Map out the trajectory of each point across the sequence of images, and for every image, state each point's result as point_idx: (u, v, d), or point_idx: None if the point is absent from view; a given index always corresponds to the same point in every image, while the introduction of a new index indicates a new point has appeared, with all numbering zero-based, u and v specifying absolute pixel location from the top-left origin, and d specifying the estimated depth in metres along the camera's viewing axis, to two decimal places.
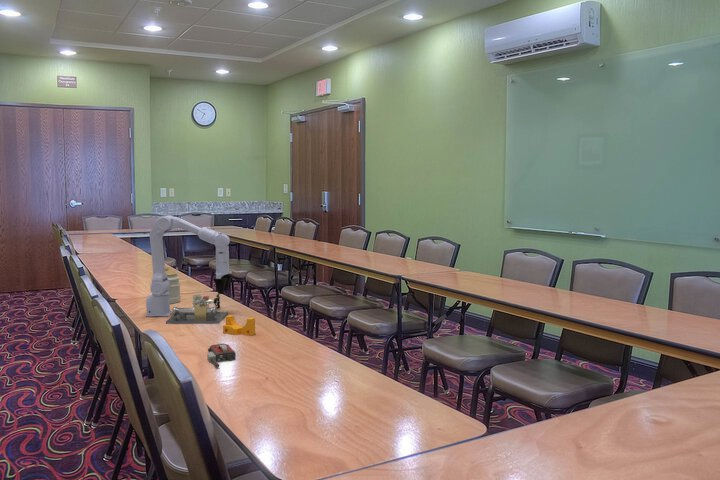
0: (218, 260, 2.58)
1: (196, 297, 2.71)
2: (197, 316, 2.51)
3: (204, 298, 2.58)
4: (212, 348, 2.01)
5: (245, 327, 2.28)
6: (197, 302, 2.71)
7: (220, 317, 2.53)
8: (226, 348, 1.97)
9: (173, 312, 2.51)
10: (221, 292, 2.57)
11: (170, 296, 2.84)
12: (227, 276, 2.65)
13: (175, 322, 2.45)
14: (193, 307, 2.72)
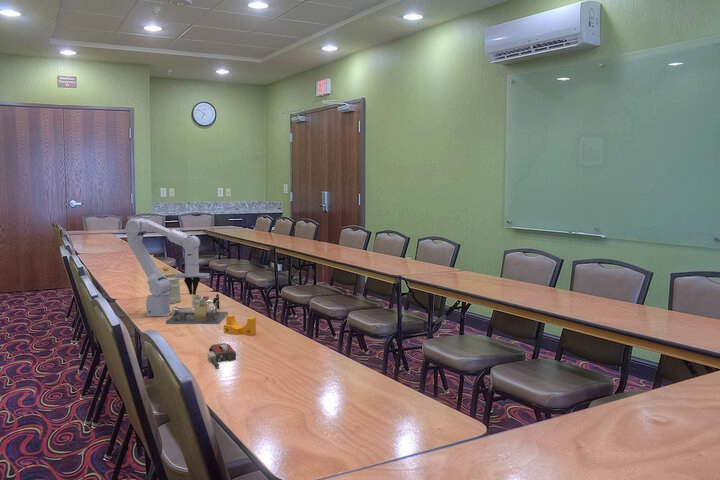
0: (186, 262, 2.56)
1: (195, 297, 2.71)
2: (197, 316, 2.51)
3: (204, 298, 2.58)
4: (213, 348, 2.02)
5: (246, 327, 2.29)
6: (196, 302, 2.71)
7: (220, 317, 2.53)
8: (226, 348, 1.97)
9: (173, 312, 2.51)
10: None
11: (170, 296, 2.84)
12: None
13: (175, 322, 2.45)
14: None
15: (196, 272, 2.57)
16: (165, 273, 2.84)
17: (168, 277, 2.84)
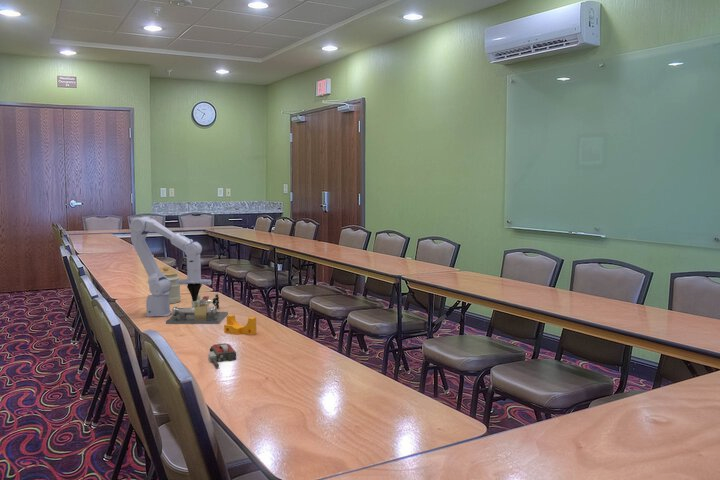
0: (189, 268, 2.56)
1: None
2: (197, 316, 2.51)
3: (204, 298, 2.58)
4: (213, 348, 2.02)
5: (246, 326, 2.29)
6: (196, 302, 2.71)
7: (220, 317, 2.53)
8: (227, 348, 1.97)
9: (173, 312, 2.51)
10: None
11: (170, 296, 2.84)
12: None
13: (175, 322, 2.45)
14: (192, 307, 2.72)
15: (198, 278, 2.57)
16: (165, 273, 2.84)
17: (168, 277, 2.84)
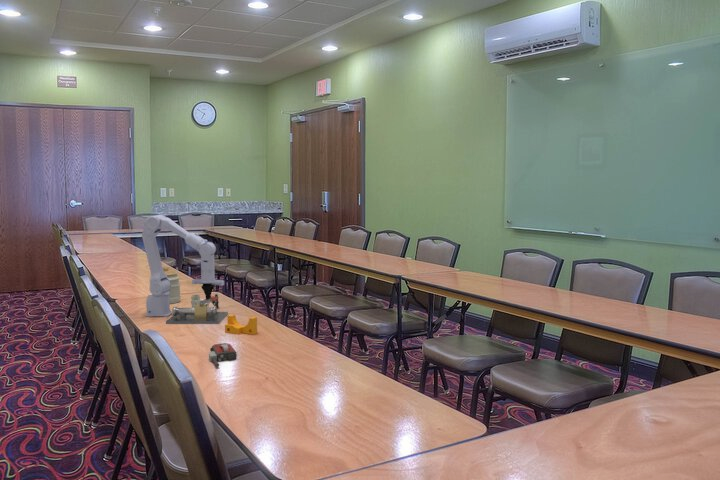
0: (203, 268, 2.56)
1: (195, 297, 2.71)
2: (197, 316, 2.51)
3: (209, 298, 2.57)
4: (214, 348, 2.02)
5: (247, 326, 2.29)
6: (196, 302, 2.71)
7: (220, 317, 2.53)
8: (227, 348, 1.97)
9: (173, 312, 2.51)
10: None
11: (170, 296, 2.84)
12: None
13: (175, 322, 2.45)
14: None
15: (211, 279, 2.57)
16: (165, 273, 2.84)
17: (168, 277, 2.84)
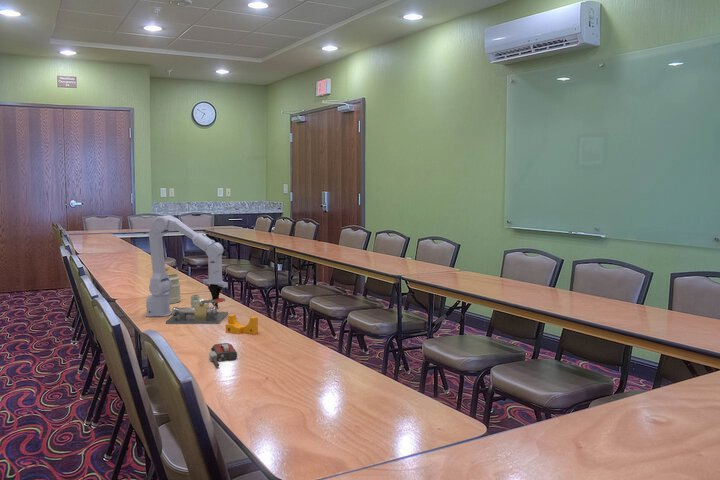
0: (210, 269, 2.54)
1: (194, 297, 2.71)
2: (197, 316, 2.51)
3: (213, 299, 2.55)
4: (215, 347, 2.02)
5: (248, 326, 2.30)
6: (195, 302, 2.71)
7: (220, 317, 2.53)
8: (228, 348, 1.97)
9: (173, 312, 2.51)
10: None
11: (170, 296, 2.84)
12: None
13: (175, 322, 2.45)
14: (191, 307, 2.72)
15: (215, 280, 2.54)
16: None
17: None
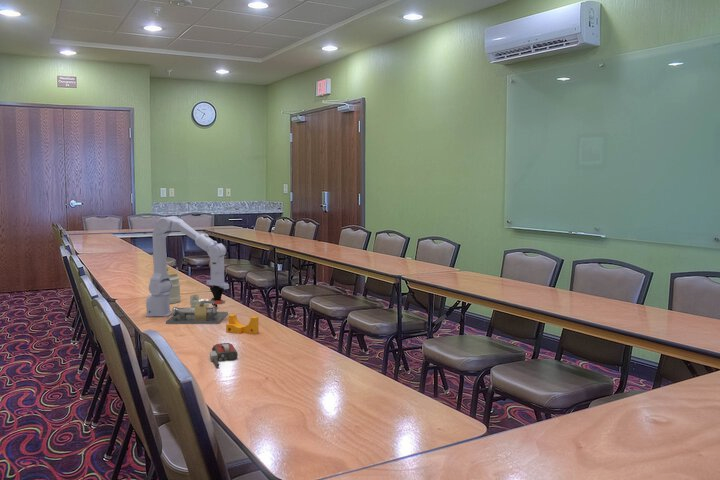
0: (211, 270, 2.51)
1: (194, 297, 2.71)
2: (197, 316, 2.51)
3: None
4: (215, 347, 2.02)
5: (249, 326, 2.30)
6: (195, 302, 2.71)
7: (220, 317, 2.53)
8: (228, 347, 1.97)
9: (173, 312, 2.51)
10: None
11: (170, 296, 2.84)
12: None
13: (175, 322, 2.45)
14: None
15: (217, 281, 2.51)
16: None
17: None
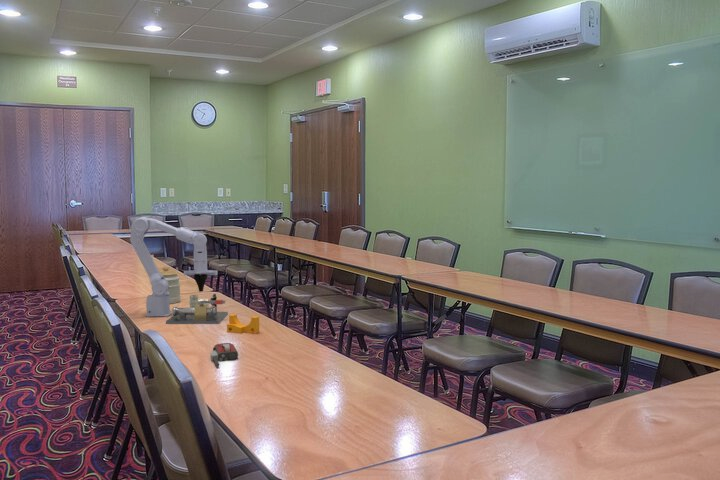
0: (197, 259, 2.60)
1: (193, 297, 2.71)
2: (197, 316, 2.51)
3: None
4: (216, 347, 2.02)
5: (249, 325, 2.31)
6: (194, 302, 2.71)
7: (220, 317, 2.53)
8: (228, 347, 1.97)
9: (173, 312, 2.51)
10: None
11: (170, 296, 2.84)
12: None
13: (175, 322, 2.45)
14: (190, 307, 2.72)
15: (204, 269, 2.62)
16: (165, 273, 2.84)
17: (168, 277, 2.84)
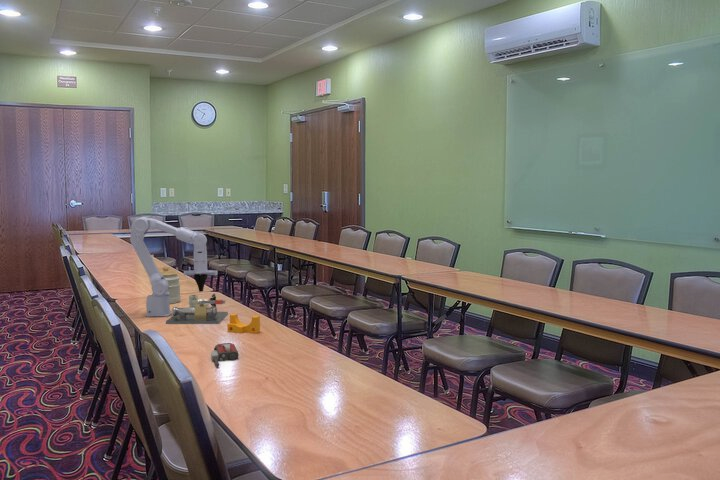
0: (197, 259, 2.60)
1: (192, 297, 2.71)
2: (197, 316, 2.51)
3: None
4: (217, 347, 2.03)
5: (250, 325, 2.31)
6: (193, 302, 2.71)
7: (220, 317, 2.53)
8: (229, 348, 1.98)
9: (173, 312, 2.51)
10: None
11: (170, 296, 2.84)
12: None
13: (175, 322, 2.45)
14: (189, 307, 2.72)
15: (204, 269, 2.62)
16: (165, 273, 2.84)
17: (168, 277, 2.84)
